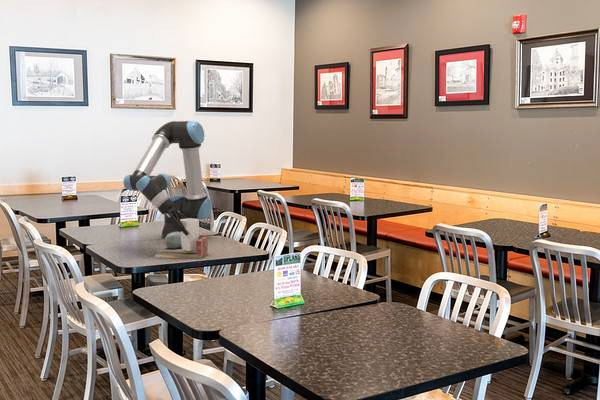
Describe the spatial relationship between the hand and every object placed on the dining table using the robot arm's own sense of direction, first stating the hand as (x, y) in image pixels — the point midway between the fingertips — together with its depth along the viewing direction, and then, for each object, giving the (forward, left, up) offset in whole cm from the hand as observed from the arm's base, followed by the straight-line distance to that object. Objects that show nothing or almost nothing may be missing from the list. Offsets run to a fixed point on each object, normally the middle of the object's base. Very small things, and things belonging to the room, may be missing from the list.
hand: (196, 237), depth 308 cm
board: (0, -7, -9) cm, 11 cm away
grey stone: (-20, -15, -9) cm, 27 cm away
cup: (0, -3, -6) cm, 7 cm away
